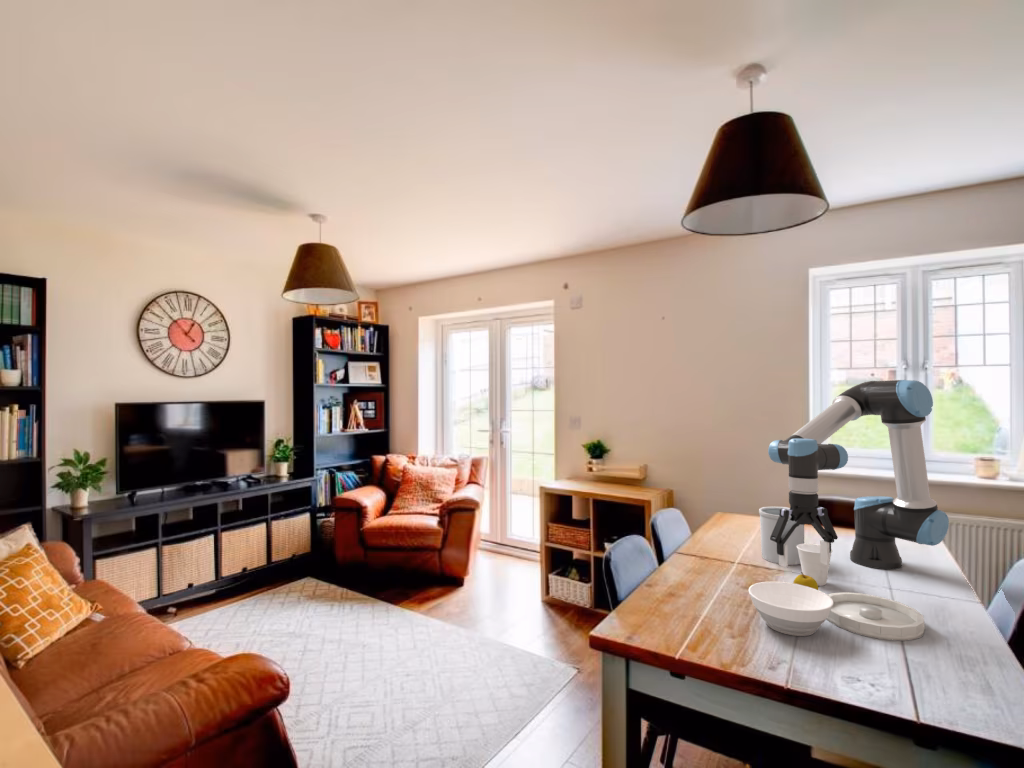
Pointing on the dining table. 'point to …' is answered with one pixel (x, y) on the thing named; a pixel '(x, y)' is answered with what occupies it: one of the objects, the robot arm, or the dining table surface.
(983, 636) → the dining table surface
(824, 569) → the cup
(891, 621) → the ring tray
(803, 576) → the apple
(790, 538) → the utensil holder
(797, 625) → the bowl
